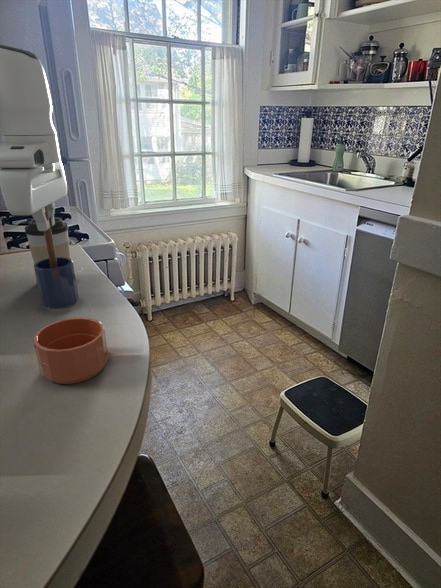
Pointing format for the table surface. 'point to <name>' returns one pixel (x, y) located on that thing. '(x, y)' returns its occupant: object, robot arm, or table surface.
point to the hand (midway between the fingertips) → (46, 228)
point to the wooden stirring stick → (50, 244)
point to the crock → (56, 283)
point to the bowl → (71, 350)
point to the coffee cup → (39, 243)
